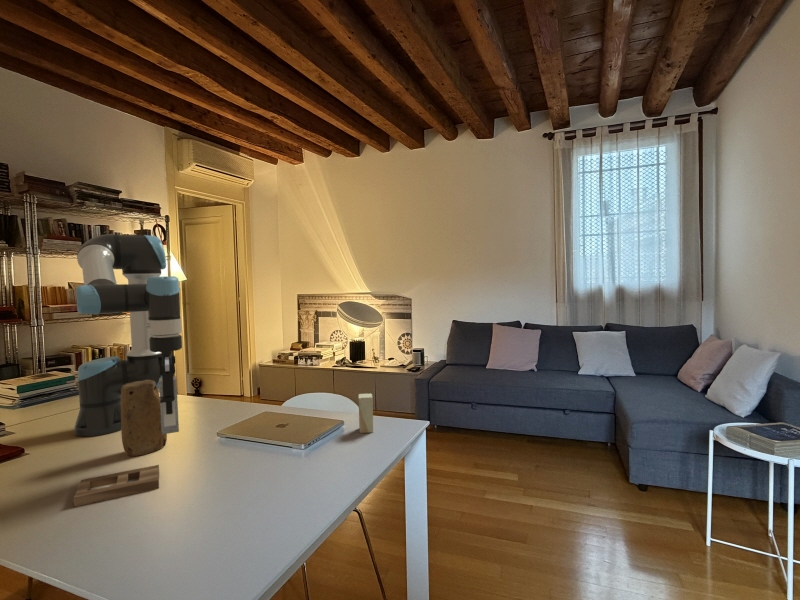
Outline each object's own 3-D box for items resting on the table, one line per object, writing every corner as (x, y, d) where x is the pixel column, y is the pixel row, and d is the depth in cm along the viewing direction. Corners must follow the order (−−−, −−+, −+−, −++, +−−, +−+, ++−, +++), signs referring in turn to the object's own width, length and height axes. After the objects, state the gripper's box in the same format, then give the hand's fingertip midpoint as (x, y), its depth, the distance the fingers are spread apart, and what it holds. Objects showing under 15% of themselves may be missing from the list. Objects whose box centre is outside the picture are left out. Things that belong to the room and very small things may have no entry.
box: (359, 427, 140) (358, 393, 140) (373, 427, 141) (372, 392, 140) (359, 433, 135) (358, 397, 134) (373, 432, 135) (372, 397, 135)
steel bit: (161, 429, 118) (159, 378, 117) (178, 427, 120) (176, 376, 119) (161, 434, 114) (159, 381, 113) (178, 431, 116) (176, 379, 115)
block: (125, 459, 120) (121, 387, 119) (121, 452, 125) (117, 382, 125) (169, 449, 127) (166, 380, 126) (163, 442, 132) (160, 376, 132)
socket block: (81, 488, 103) (81, 479, 103) (159, 472, 111) (158, 464, 111) (74, 506, 95) (73, 497, 94) (158, 488, 102) (158, 479, 102)
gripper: (150, 332, 121) (154, 416, 122) (148, 340, 106) (153, 435, 107) (180, 330, 124) (184, 411, 126) (182, 338, 109) (187, 430, 111)
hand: (169, 422), depth 117 cm, fingers closed on steel bit, 4 cm apart
